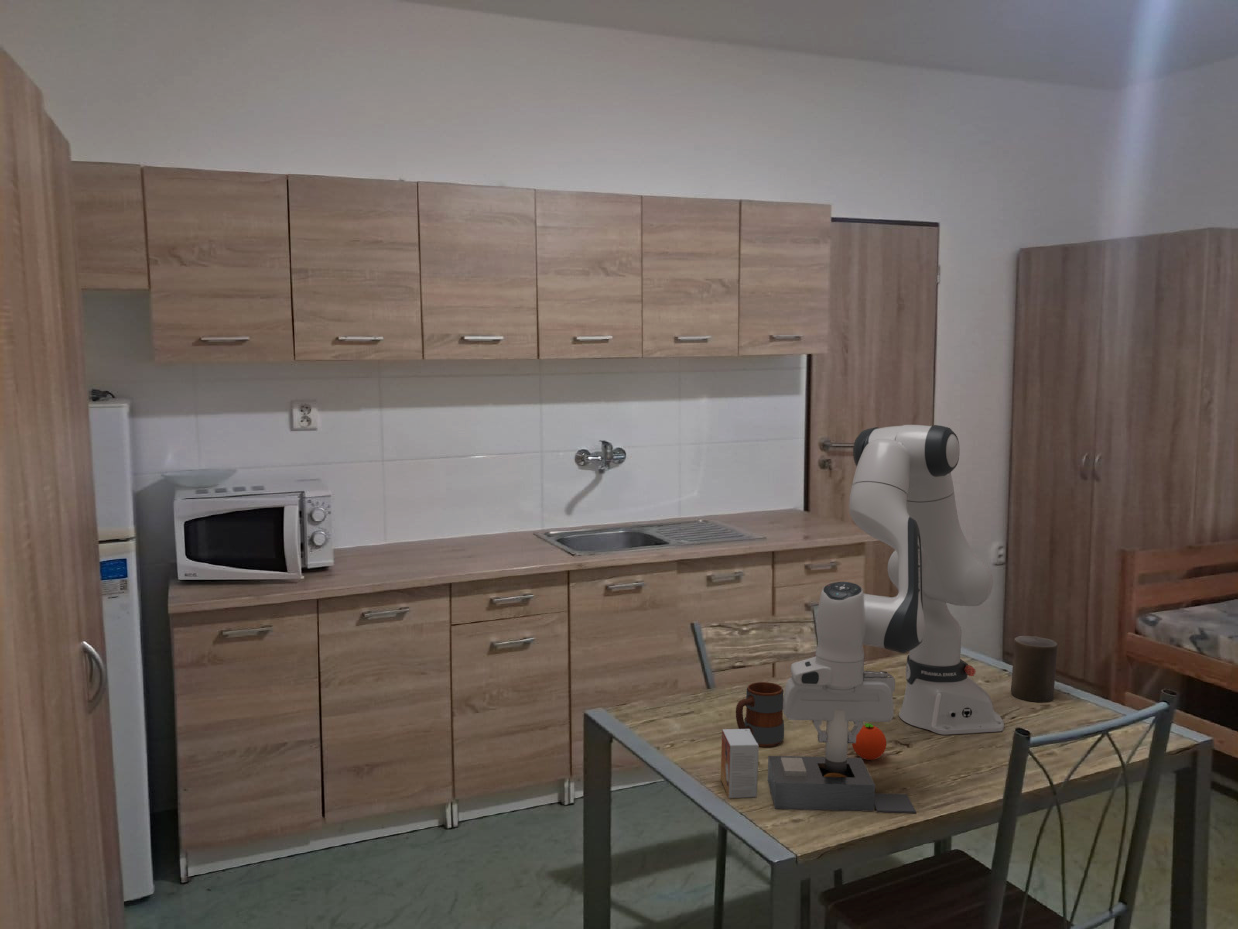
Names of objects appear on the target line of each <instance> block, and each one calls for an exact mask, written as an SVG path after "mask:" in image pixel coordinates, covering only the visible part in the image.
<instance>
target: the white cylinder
mask: <svg viewBox="0 0 1238 929" xmlns="http://www.w3.org/2000/svg"><path fill="white" fill-rule="evenodd" d="M849 722H850V721H846V720H845V710H834V719H833V720H832V721H826V730H825V731H826V733H827V743H825V752H824V754H825V755H824V757H825V768H826V769H827V770H828V771H831V772H836V773H840V772H845V771H846V770H847V758H848V747H849V745H848V744H849V743H848V731H849Z"/></svg>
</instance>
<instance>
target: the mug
mask: <svg viewBox="0 0 1238 929" xmlns="http://www.w3.org/2000/svg"><path fill="white" fill-rule="evenodd" d="M784 692H785V689H783V687H782V686H781V685H780V684H777V683H774V682H769V681H768V682H767V681H766V682H765V681H758V682H752V683H751V684H749V685H747V687H746V694H745V695H746V697H745V698H743V699H740V700H739V701H738V702H737V704H736V707H735V719H736V724H737V729H750V731H751V733H752V735H753V737H754V739H755V740H756V742H757V743H758V745H759V748H760V747H762V748H771V747H777V746H779V745H781V743H782V742H783V740H784V739H785V720H784V718H783V716H784V715H783V714H784V712H783V699H784ZM744 707H746V710H745V717H744V713H743V712H744Z"/></svg>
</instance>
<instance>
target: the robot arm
mask: <svg viewBox="0 0 1238 929" xmlns="http://www.w3.org/2000/svg"><path fill="white" fill-rule="evenodd" d="M960 450H961V449H960V442H959V437H958V436H957V434H956V433H955V432H954V431H953V430H952V428H951V427H948V426H945V425H944V426H943V425H938V424H934V425H922V424H902V425H894V426H892V425H891V426H885V427H875V426H874V427H871V428H867V429H863V430H862V431H861V432H860V433H859V434H858V435H857V437H856V438H855V440H854V442H853V448H852V458H853V461H854V463H855V464H854V465H855V466H856V468H855V472H854V475H853V479H852V483H851V488H850V493H849V502H848V511H849V515H850V518H851V520H852V521H853V522H854V524H855V525H856V526H857V527H858V528H859V529H860V530H861V531H863V533H865V534H867V535H869V536H870V537H872V538H874V539H876V540H878V541H880V542H882V543H883V544H886V545H888V546H890V547H891V549H894V551H893V552H892V553H891V555H890V557H889V559H888V562H887V573H888V574H887V575H888V578H889V580H890V582H892V584H893V585H894V586H895V588H896V589H897V591H898V593H897V595H896V596H893V597H889V596H885V595H884V596H883V595H875V594H868V593H864V591H863V588H862V587H861V586H860V585H858V584H857V583H855V582H849V581H834V582H831V583H829V584H827V585H825V586H823V588H822V590H821V592H820V596H819V602H818V607H817V617H816V635H817V641H818V642H817V647H816V649H815V656H813V657H809V658H806V659H801V660H800V661H799V660H798V661H795V662H793V663H791V665H790V674H791V677H790V678H788V680H787V681H786V683H785V686H784V693H783V714H784V715H783V716H785V717H786V718H787V720H790V721H812V724H813V726H814V729H815V730H816V732H817V741H818V744H819V743H825V744H826V743H827V733H826V730H822V728H821V726H822V724H823V722H822V721H825V722H827V721H832V720H833V719H834V710H845V720H846V721H849V722H852V723H853V727H852V729H851V730H848V744H852V743H856V735H857V734H858V733H859V731H860V730H861V728H862V727H863V726H864V725H863V724H864V722H866V723H867V722H869V723H870V722H873V723H874V722H876V723H877V722H878V723H880V722H881V723H882V722H883V723H889V722H891V721H892V719H893V718H894V712H895V709H894V698H893V694H894V692H895V689H896V679H895V677H894V675H892V674H890V673H888V672H887V671H883V670H881V671H871V670H865V652H864V648H863V646H870V647H877V648H881V649H882V648H883V649H885V650H889V651H893V652H896V653H899V654H906V653H908V655H907V657H906V664H905V680H906V686H905V692H904V696H903V701H902V705H901V707H900V710H899V714H898V717H899V718H900V719H901V720H902V721H904V723H907V724H908V725H911V726H913V727H916V728H920V729H925V730H929V731H931V732H933V733H936V734H937V735H961V734H962V735H963V734H975V733H976V734H977V733H979V734H980V733H994V732H1003V731H1004V729H1005V723H1004V720H1003V718H1002V717H1001V715H1000V714H999V713H997V712H996V711H995V710H994V706H993V701H992V698H991V696H990V695H989V693H988V692H987V691H986V690H984V688H982V687H981V686H980V685H979V684H978V683H976V682H975V681H974V680H973V679H971V678H970V677H974V676H975V675H976V672H977V671H976V669H975V668H974V667H973V666H972V665H970V664H969V663H968V662H966V661H964V660H962V658H961V653H962V652H961V651H962V650H961V649H962V627H961V625H960V623H959V622H958V620H957V619H956V618H955V617H954V616H953V614H952V613H951V611H950V609H949V608H948V605H949V604H950V605H954V606H958V607H978V606H980V605H982V604H983V603H984V602H986V601H987V599H989V597H990V595H991V593H992V591H993V587H994V580H993V579H994V578H993V574H992V572H991V570H990V568H989V567H988V566H987V565H986V564H985V563H984V562H983V561H982V560H980V558H979V557H978V556H977V554H975V552H974V551H973V549H972V548H971V546H970V544H969V542H968V540H967V539H966V537H965V534H964V532H963V529H962V528H961V524H960V521H959V515H958V509H957V503H956V498H955V497H956V496H955V490H954V481H953V477H952V472H953V471H954V470H955V468H956V467H957V465H958V464H959V460H960ZM947 604H948V605H947Z"/></svg>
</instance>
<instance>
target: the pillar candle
mask: <svg viewBox="0 0 1238 929" xmlns="http://www.w3.org/2000/svg"><path fill="white" fill-rule="evenodd" d="M1057 653H1058V643H1057V642H1056V641H1055V640H1053V639H1051V638H1050V639H1049V638H1044V637H1041V636H1036V635H1033V636H1031V635H1020V636H1017V637H1015V638H1014V645H1013V655H1012V656H1013V658H1012V660H1013V661H1012V670H1011V672H1012V673H1011V683H1010V685H1011V686H1010V692H1011V694H1012V696H1014V698H1017V699H1020V700H1023V701H1028V702H1033V703H1040V704H1041V703H1046V702H1047V703H1048V702H1051V701H1054V697H1055V696H1054V695H1055V681H1056V667H1057V655H1058V654H1057Z"/></svg>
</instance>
